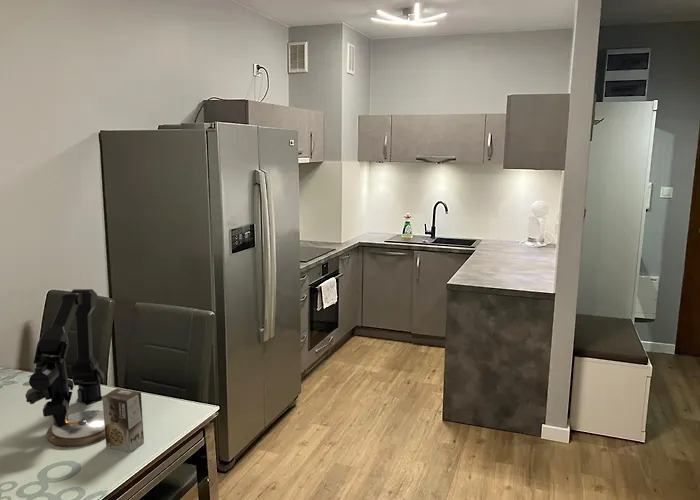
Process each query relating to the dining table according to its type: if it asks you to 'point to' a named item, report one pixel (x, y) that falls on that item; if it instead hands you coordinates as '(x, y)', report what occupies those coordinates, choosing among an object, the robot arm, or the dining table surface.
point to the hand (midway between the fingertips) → (61, 422)
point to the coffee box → (123, 419)
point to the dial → (80, 425)
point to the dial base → (75, 442)
